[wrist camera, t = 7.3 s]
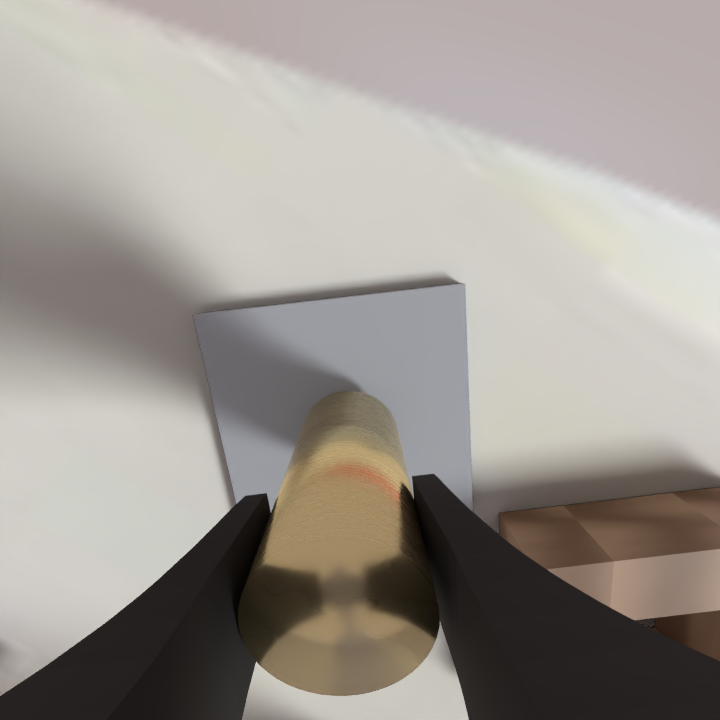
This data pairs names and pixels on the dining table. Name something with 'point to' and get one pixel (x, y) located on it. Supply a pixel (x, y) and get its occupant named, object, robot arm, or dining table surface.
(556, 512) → the block
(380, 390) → the pad
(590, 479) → the dining table surface
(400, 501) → the brass cylinder
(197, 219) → the dining table surface
